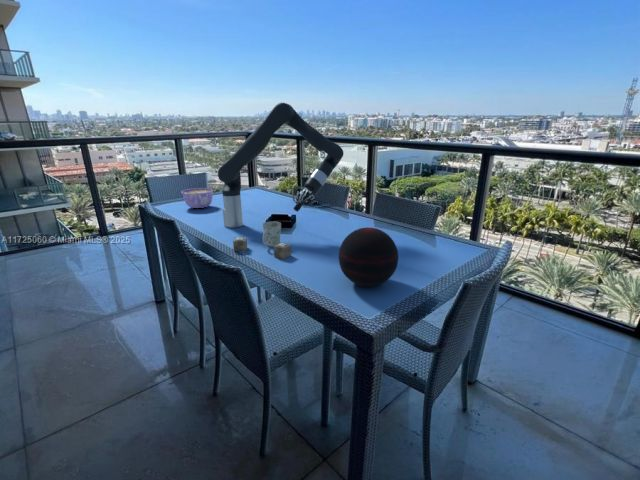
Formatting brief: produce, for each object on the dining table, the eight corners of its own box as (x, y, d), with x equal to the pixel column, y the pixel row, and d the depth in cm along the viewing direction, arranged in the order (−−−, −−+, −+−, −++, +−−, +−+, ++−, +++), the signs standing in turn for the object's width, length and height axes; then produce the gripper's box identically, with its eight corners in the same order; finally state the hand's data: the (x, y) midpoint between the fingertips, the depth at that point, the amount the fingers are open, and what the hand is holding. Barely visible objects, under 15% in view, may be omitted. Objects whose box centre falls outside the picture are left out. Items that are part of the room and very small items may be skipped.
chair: (305, 206, 222) (304, 173, 215) (292, 201, 236) (291, 170, 228) (320, 203, 229) (320, 172, 222) (307, 199, 243) (306, 169, 235)
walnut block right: (274, 257, 137) (273, 245, 135) (281, 253, 141) (281, 241, 139) (283, 259, 135) (283, 247, 133) (291, 255, 139) (290, 244, 137)
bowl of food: (209, 211, 210) (207, 193, 206) (178, 211, 210) (175, 193, 206) (219, 204, 229) (217, 187, 225) (190, 204, 229) (188, 187, 225)
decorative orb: (357, 303, 102) (359, 242, 95) (328, 277, 119) (328, 224, 112) (408, 289, 110) (413, 233, 103) (374, 267, 127) (377, 217, 120)
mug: (285, 242, 154) (284, 222, 151) (272, 251, 143) (271, 230, 139) (269, 240, 157) (268, 220, 153) (256, 249, 145) (254, 228, 142)
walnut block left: (234, 252, 143) (232, 240, 141) (236, 248, 148) (235, 236, 146) (245, 251, 143) (244, 240, 141) (247, 247, 148) (246, 236, 146)
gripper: (303, 174, 158) (282, 203, 155) (320, 178, 148) (298, 208, 145) (312, 184, 163) (292, 212, 160) (329, 188, 153) (308, 217, 150)
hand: (295, 210), depth 153 cm, fingers closed
